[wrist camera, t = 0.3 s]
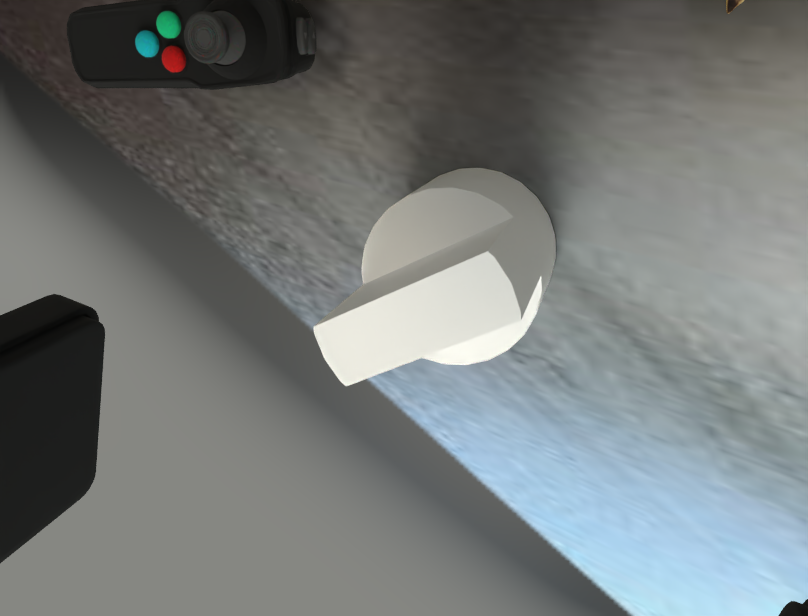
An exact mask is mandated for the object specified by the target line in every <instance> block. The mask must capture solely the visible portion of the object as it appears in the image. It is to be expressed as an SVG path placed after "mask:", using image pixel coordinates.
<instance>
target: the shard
mask: <svg viewBox="0 0 808 616" xmlns="http://www.w3.org/2000/svg"><path fill="white" fill-rule="evenodd" d="M743 1H744V0H726V10H727V13H728V14H729V13H730V12H731V11H732V10H733V9H734V8H736V7H737V6H738V5H739V4H741V3H742V2H743Z"/></svg>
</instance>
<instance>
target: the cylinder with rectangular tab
mask: <svg viewBox="0 0 808 616" xmlns="http://www.w3.org/2000/svg"><path fill="white" fill-rule="evenodd" d="M555 260H556V238H555V233H554V230H553V227H552V224H551V220H550V217H549V215H548V213H547V212H546V210H545V209H544V207H543V205H542V204H541V202H540V201H539V199H538V198H537V197H536V196H535V195H534V194H533V193H532V192H531V191H530V190H529V189H528V188H527V187H526V186H524V185H523V184H522V183H521V182H519V181H517V180H515V179H514V178H512V177H510V176H508V175H506V174H504V173H502V172H498V171H493V170H489V169H484V168H464V169H457V170H454V171H451V172H448V173H445V174H442V175H439V176H438V177H436V178H434V179H433V180H431V181H430V182H428V183H426V184H425V185H423V186H422V187H420V188H419V189H417V190H415V191H414V192H412V193H411V194H409V195H407V196H406V197H404V198H403V199H401V200H400V201H399V202H397V203H396V204H394V205H393V206H391V207H390V208H388V209H387V210H386V212H385V213H384V214H383V215H382V216H381V218H380V219H379V220H378V221H377V223H376V224H375V225H374V226H373V228H372V231H371V233H370V235H369V238H368V240H367V242H366V245H365V247H364V254H363V261H362V269H361V270H362V278H363V285H362V286H361V287H360V288H358V289H357V290H356V291H355V292H354V293H353V294H351V295H350V296H349V297H348V298H347V299H345V300H344V301H343V302H342V303H341V304H340V305H338V306H337V307H336V308H335V309H334V310H332V311H331V312H330V313H329V314H328V315H327V316H325V317H324V318H323V319H322V320H321V321H319V322H318V323H317V324H316V325H315V326H314V334H315V337H316V339H317V342H318V344H319V347H320V349H321V351H322V354H323V356H324V359H325V360H326V361H327V363H328V365H329V366H330V367H331V369H332V370H333V372H334V373H335V375H336V376H337V377H338V379H339V380H340V381H341V382H342V383H343V384H344V385H345V386H348V385H351V384H354V383H356V382H359V381H362V380H364V379H367V378H370V377H372V376H375V375H378V374H380V373H383V372H386V371H388V370H391V369H394V368H396V367H399V366H401V365H404V364H407V363H409V362H412V361H415V360H417V359H420V358H424V359H428V360H431V361H435V362H438V363H442V364H455V365H468V364H473V363H478V362H482V361H487V360H490V359H492V358H493V357H495V356H497V355H499V354H501V353H503V352H505V351H507V350H509V349H510V348H511V347H512V346H513V345H514V344H515V343H516V342H517V341H518V340H519V339H520V338H521V337H522V336H523V335H524V334H525V333H526V331H527V329H528V328H529V326H530V324H531V323H532V321H533V319H534V317H535V316H536V314H537V311H538V309H539V306H540V304H541V301H542V299H543V296H544V294H545V291H546V289H547V286H548V284H549V281H550V279H551V275H552V271H553V267H554V264H555Z"/></svg>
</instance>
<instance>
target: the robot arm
mask: <svg viewBox="0 0 808 616" xmlns="http://www.w3.org/2000/svg"><path fill="white" fill-rule="evenodd" d="M104 339H105V329H104V327H103V324H101V323H100V322H99V317H98V315H97V313H96V311H95V310H94V309H93V308H91V307H89V306H86V305H84V304H81V303H79V302H76V301H73V300H71V299H68V298H66V297H63V296H61V295H56V294H53V295H49V296H46V297H43V298H41V299H39V300H36V301H34V302H31V303H29V304H27V305H24V306H22V307H19V308H17V309H15V310H13V311H10V312H8V313H5V314H3V315H0V563H1V562H2V561H4V560H5V559H6V558H7V557H9V556H10V555H11V554H12V553H14V552H15V551H16V550H17V549H19V548H20V547H21V546H22V545H24V544H25V543H26V542H27V541H29V540H30V539H31V538H32V537H34V536H35V535H36V534H37V533H38V532H40V531H41V530H42V529H43V528H45V527H46V526H47V525H48V524H50V523H51V522H52V521H53V520H55V519H56V518H57V517H58V516H60V515H61V514H62V513H63V512H64V511H66V510H67V509H68V508H70V507H71V506H72V505H73V504H74V503H76V502H77V501H78V500H80V499H81V498H82V497H83V496H84V495H85V494H86V492H87V491H88V490H89V488H90V487H91V484H92V483H93V480H94V478H95V473H96V460H97V446H98V431H99V415H100V401H101V385H102V371H103V354H104ZM779 616H808V599H807V600H806V601H805V602H804V603H803V604H800V603H798V602H795V601H791V602H789V603H788V604H787V605H786V606H785V607H784V608H783V610H782V611H781V613H780V614H779Z"/></svg>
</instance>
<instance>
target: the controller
mask: <svg viewBox="0 0 808 616" xmlns="http://www.w3.org/2000/svg"><path fill="white" fill-rule="evenodd" d="M67 36H68V41H69V47H70V52H71V57H72V63H73V66H74V68H75V71H76V73H77V74H78V76H79V77H80V79H81V80H82V81H83V82H85V83H87V84H89V85H91V86H93V87H96V88H200V89H211V90H212V89H224V88H233V87H242V86H251V85H260V84H268V83H274V82H277V81H278V80H282V79H287V78H290V77H292V76H293V75H295V74H297V73H301V72H304V71H306V70H308V69H310V67H311V66H312V64H313V62H314V59H315V52H316V33H315V25H314V22H313V20H312V18H311V15H310V14H309V12H308V10H307V9H306V8H305V7H304V6H303V5H301V4H298V3H296V2H294V1H292V0H138V1H130V2H123V3H115V4H107V5H100V6H92V7H84V8H81V9H79V10H77V11H75V12H73V13H71V14H70V16H69V20H68V23H67Z"/></svg>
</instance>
